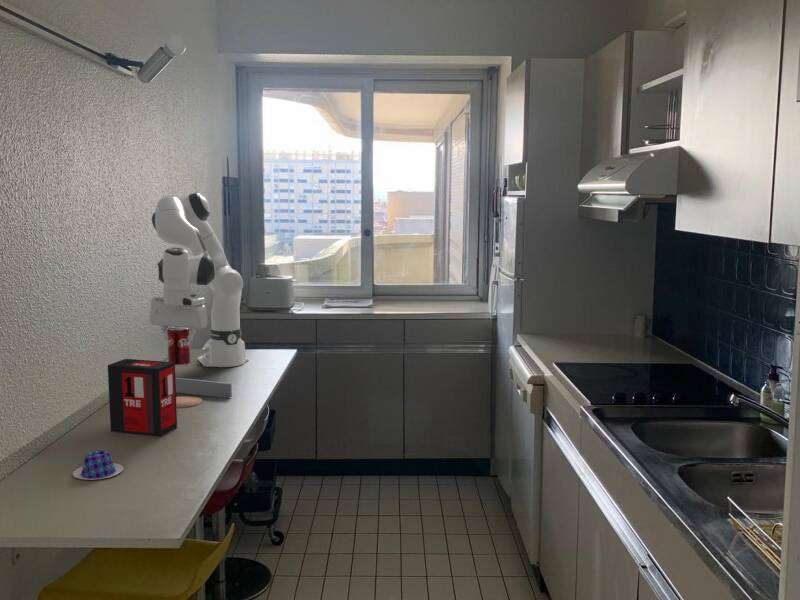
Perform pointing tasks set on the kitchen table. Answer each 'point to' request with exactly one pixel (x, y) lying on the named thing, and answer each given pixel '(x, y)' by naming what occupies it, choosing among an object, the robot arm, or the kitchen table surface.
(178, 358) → the soda can
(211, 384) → the acrylic wall
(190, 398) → the terracotta mat
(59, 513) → the kitchen table surface
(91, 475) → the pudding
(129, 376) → the cleaning product box
